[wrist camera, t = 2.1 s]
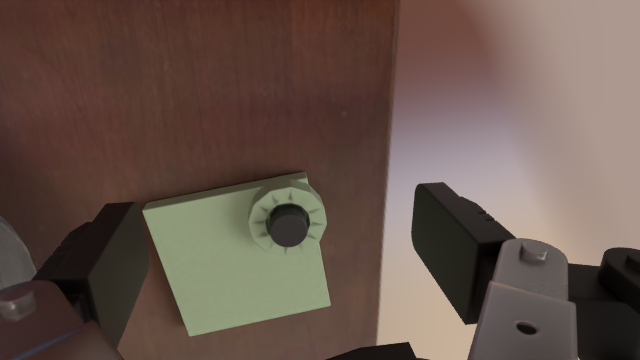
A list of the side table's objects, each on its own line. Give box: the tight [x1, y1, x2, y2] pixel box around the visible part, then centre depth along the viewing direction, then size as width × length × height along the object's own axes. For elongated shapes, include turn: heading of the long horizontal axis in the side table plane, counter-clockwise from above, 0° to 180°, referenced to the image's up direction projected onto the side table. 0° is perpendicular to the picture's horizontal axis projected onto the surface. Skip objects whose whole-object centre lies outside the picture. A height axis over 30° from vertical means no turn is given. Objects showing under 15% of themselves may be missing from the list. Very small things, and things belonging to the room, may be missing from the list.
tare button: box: [269, 205, 308, 247], centre depth 29 cm, size 3×3×2 cm
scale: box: [142, 172, 330, 336], centre depth 32 cm, size 13×12×3 cm
